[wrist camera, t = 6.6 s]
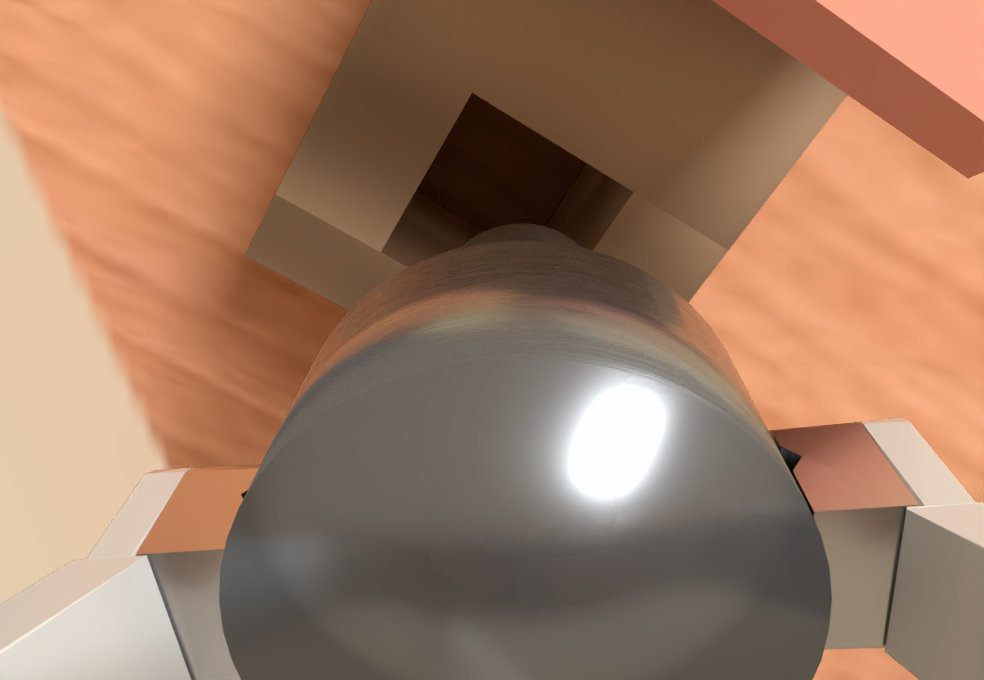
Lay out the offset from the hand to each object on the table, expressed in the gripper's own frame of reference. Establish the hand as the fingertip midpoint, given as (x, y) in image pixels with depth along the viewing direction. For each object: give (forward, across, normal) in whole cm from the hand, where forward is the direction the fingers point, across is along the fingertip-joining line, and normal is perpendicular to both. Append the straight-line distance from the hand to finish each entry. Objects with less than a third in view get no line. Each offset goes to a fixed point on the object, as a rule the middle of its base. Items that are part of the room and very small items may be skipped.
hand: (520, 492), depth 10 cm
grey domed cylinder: (+6, 0, 0) cm, 6 cm away
